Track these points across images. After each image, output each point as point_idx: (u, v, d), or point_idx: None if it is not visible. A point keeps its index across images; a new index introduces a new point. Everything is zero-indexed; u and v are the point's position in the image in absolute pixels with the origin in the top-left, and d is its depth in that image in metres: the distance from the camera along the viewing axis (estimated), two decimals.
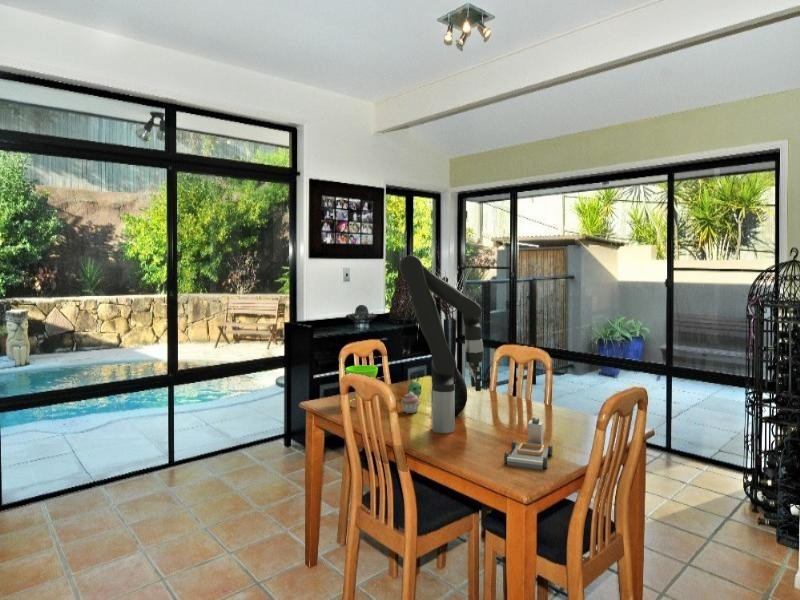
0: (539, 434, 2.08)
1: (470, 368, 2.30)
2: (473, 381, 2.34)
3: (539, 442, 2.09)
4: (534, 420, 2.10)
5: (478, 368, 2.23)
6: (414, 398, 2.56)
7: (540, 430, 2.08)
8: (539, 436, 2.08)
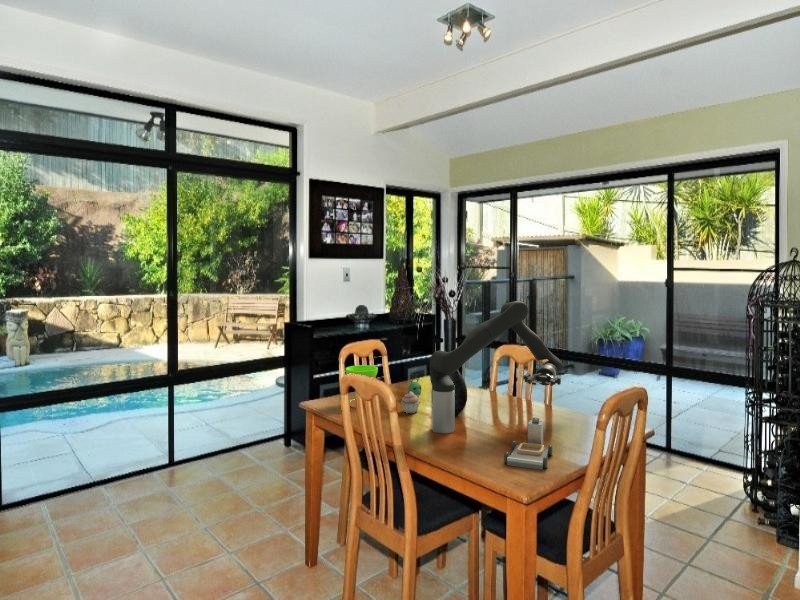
0: (539, 434, 2.08)
1: (541, 374, 2.29)
2: (531, 380, 2.24)
3: (539, 442, 2.09)
4: (534, 420, 2.10)
5: None
6: (414, 398, 2.56)
7: (540, 430, 2.08)
8: (539, 436, 2.08)
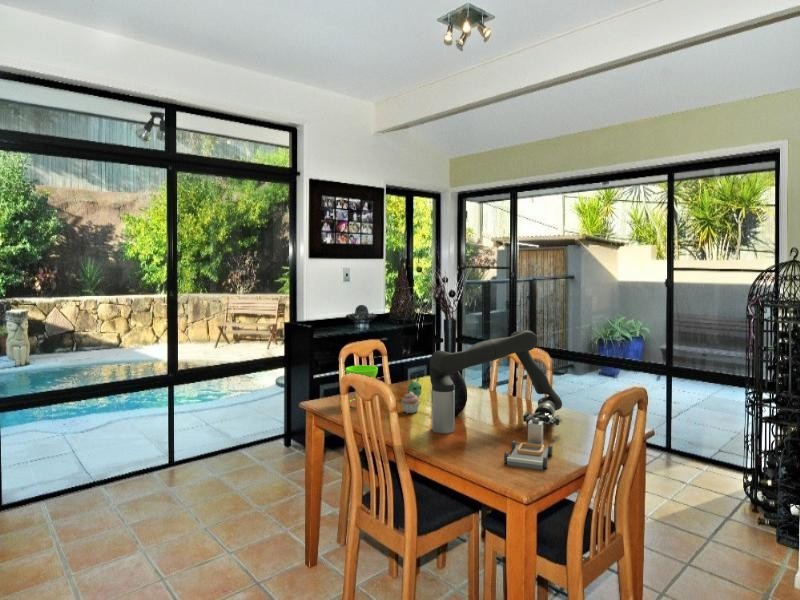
0: (539, 434, 2.08)
1: (539, 413, 2.28)
2: (529, 420, 2.23)
3: (539, 442, 2.09)
4: (534, 420, 2.10)
5: (559, 418, 2.26)
6: (414, 398, 2.56)
7: (540, 430, 2.08)
8: (539, 436, 2.08)
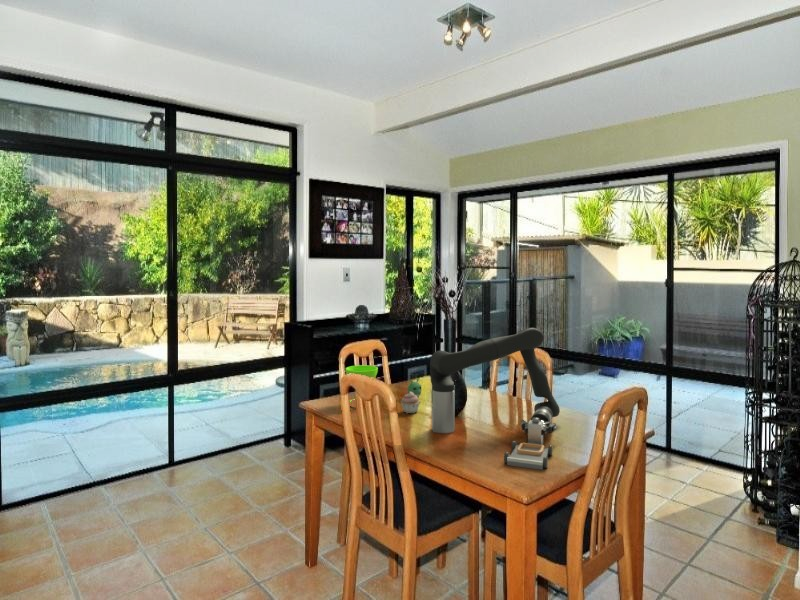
0: (539, 434, 2.08)
1: None
2: None
3: (539, 442, 2.09)
4: (534, 420, 2.10)
5: (555, 426, 2.15)
6: (414, 398, 2.56)
7: (540, 430, 2.08)
8: (539, 436, 2.08)
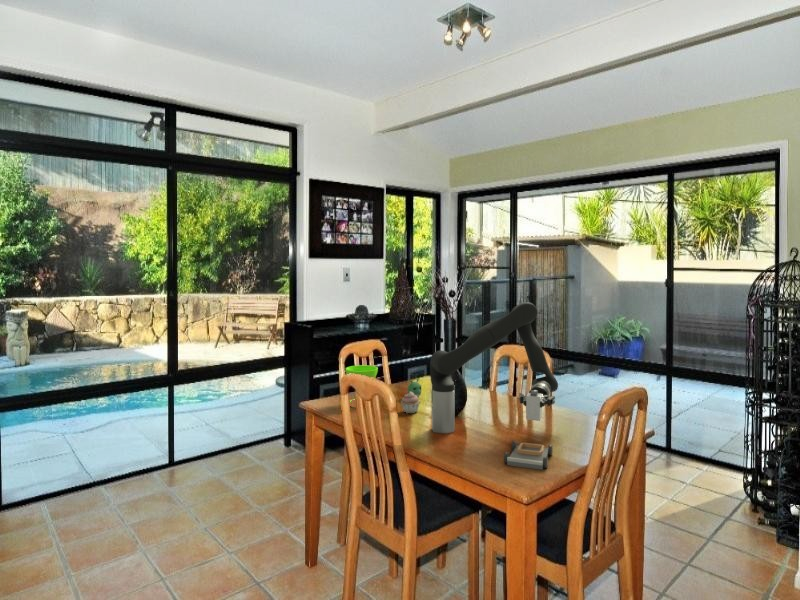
0: (538, 406, 2.03)
1: None
2: None
3: (538, 415, 2.03)
4: (532, 392, 2.05)
5: (554, 400, 2.10)
6: (414, 398, 2.56)
7: (539, 402, 2.03)
8: (538, 408, 2.03)
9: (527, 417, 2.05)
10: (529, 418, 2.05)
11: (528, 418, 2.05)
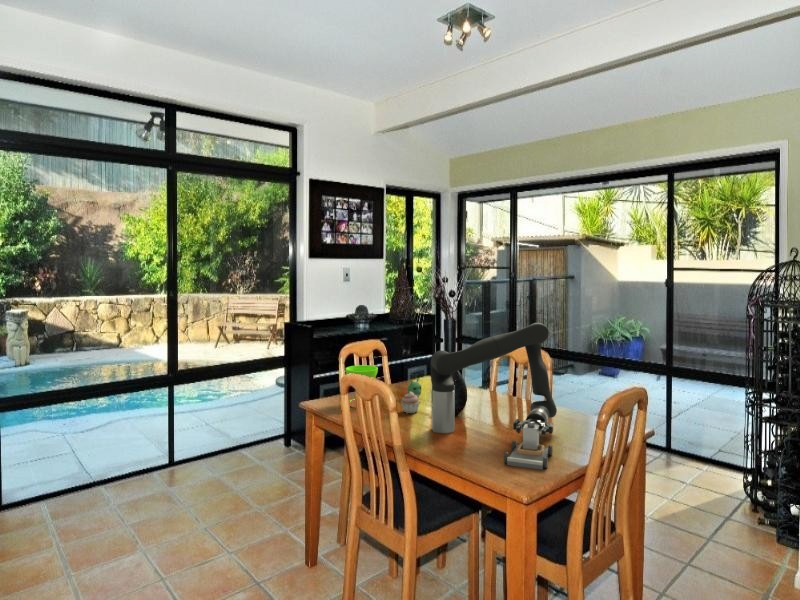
0: (535, 439, 1.98)
1: (531, 420, 2.07)
2: (520, 428, 2.03)
3: (535, 447, 1.98)
4: (529, 424, 2.00)
5: None
6: (414, 398, 2.56)
7: (536, 434, 1.98)
8: (535, 441, 1.98)
9: (524, 449, 2.00)
10: None
11: None
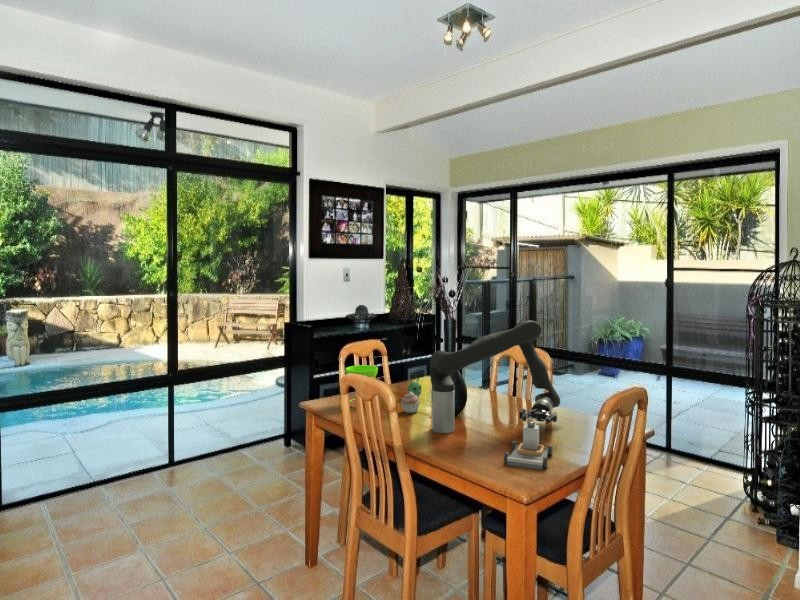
0: (535, 439, 1.98)
1: (536, 410, 2.19)
2: (526, 417, 2.15)
3: (535, 447, 1.98)
4: (529, 424, 2.00)
5: None
6: (414, 398, 2.56)
7: (536, 434, 1.98)
8: (535, 441, 1.98)
9: (524, 449, 2.00)
10: None
11: None
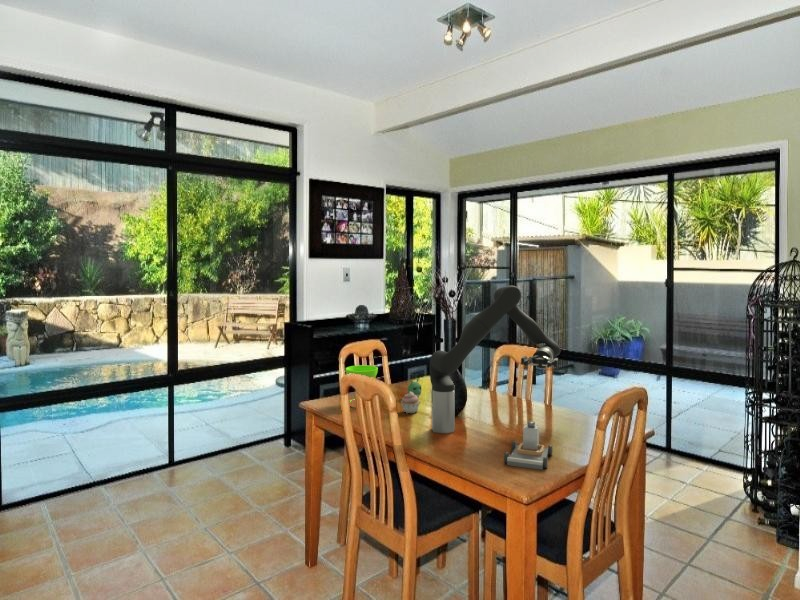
0: (535, 439, 1.98)
1: (537, 356, 2.25)
2: (527, 362, 2.20)
3: (535, 447, 1.98)
4: (529, 424, 2.00)
5: None
6: (414, 398, 2.56)
7: (536, 434, 1.98)
8: (535, 441, 1.98)
9: (524, 449, 2.00)
10: None
11: None
